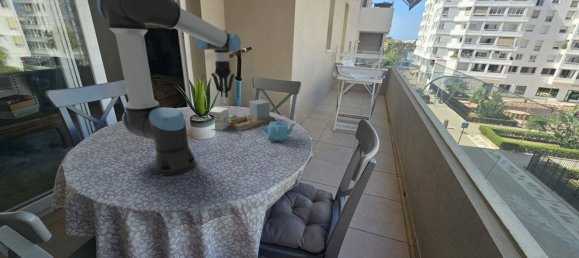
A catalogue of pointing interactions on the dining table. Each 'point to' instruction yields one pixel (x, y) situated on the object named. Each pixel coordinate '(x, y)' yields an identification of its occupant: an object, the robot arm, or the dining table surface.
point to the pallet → (252, 122)
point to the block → (259, 109)
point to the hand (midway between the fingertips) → (224, 102)
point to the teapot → (278, 131)
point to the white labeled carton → (220, 117)
